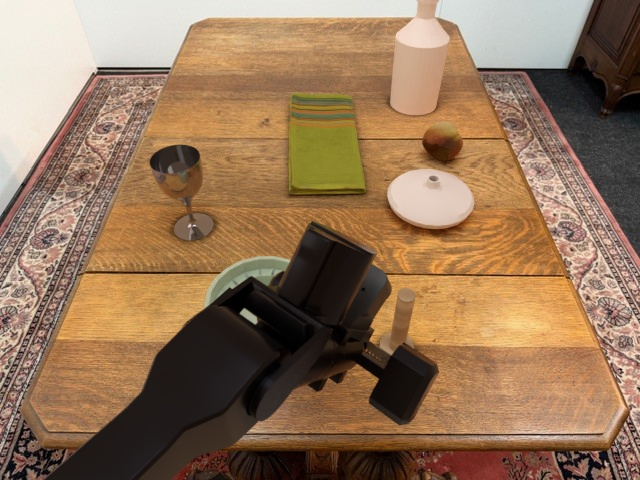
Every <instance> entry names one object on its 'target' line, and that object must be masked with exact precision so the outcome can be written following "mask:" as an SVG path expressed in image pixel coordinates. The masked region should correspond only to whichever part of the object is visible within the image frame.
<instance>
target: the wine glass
mask: <svg viewBox="0 0 640 480" xmlns="http://www.w3.org/2000/svg"><path fill="white" fill-rule="evenodd" d="M149 167H150V170H151V173H152V176H153V178H154V181H155V182H156V184H157V186H158V187H159V189H160V190H161V191H162V193H163V194H164V195H165V196H167V197H168V198H170V199H172V200H175V201H178V202H180V203H181V204H182V205H183V206H184V208H185V211H186V212H187V215H184V216H183V217H181V218H179V219H178V220H177V221H176V223H175V225H174V227H173V232H174V235H175V236H176V237H177V238H179V239H180V240H183V241H198V240H200V239H203V238H205V237H207V236H208V235H210V233H211V232H212V231H213V229H214V226H215V224H214V220H213V219H212V217H211V216H210V215H207V214H206V213H201V212H199V213H198V212H197V213H194V212H193V205H192V202H193V199H194V198H195V197H196V196H197V194H198V193H199V192H200V190H201V189H202V186H203V181H204V167H203V161H202V157H201V153H200V151H199V150H198V149H197V148H196V147H195V146H193V145H189V144H171V145H168V146H164V147H162V148H160V149H159V150H157V151H155V152H154V153H153V154H152V155H151V157H150V158H149Z"/></svg>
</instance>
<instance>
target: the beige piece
mask: <svg viewBox="0 0 640 480" xmlns="http://www.w3.org/2000/svg"><path fill="white" fill-rule="evenodd" d="M416 297H417V294H416V292H415V291H414V290H413V289H412V288H410V287H402V288H400V289H399V290H398V291H397V295H396V302H395V306H394V307H395V308H394V313H393V320H392V325H391V330H390V331H389V332H387V333H385V334H383V335H382V337H381V338H380V341H379V345H378V346H379V347H380V348H382V349H383V350H385V351H386V352H388V353H390V354H391V355H392V354H393V353H394V351H395V350H396V349H397V347H398V346H399V345H402V344H403V342H404V343H406V344H407V345H409V346H411V347H412V348H414V349H415V343H414V341H413V339H412V338H411V337H410V335H409V329H410V326H411V320H412V317H413V312H414V307H415V302H416ZM383 362H385V360H384V361H383Z"/></svg>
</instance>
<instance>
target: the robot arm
mask: <svg viewBox="0 0 640 480" xmlns="http://www.w3.org/2000/svg"><path fill="white" fill-rule="evenodd" d="M377 254H378V253H377V252H376V250H373V249H372V248H371V247H369V246H368V245H366V244H364V243H363V242H360V241H358V240H357V239H354V238H353V237H351V236H349V235H347V234H346V233H345V234H344V233H343V232H341V231H339V230H337V229H334V228H332V227H330V226H328V225H325V224H323V223H320V222H318V221H314V220H311V221H310V222H308V223H307V225H306V227H305V229H304V232H303V234H302V236H301V238H300V240H299V242H298V243H297V245H296V247H295V250H294V253H293V254H292V256H291V258H290V262H289V264H288V267H287V269H286V271H281V272H279V273H277V274H276V275H275V276H274V277H273V278H272V279H271V281H270V284H269V286H267V285H265V284H264V283H262V282H261V281H259V280H258V279H256V278H255V277H253V276H250V277H249V278H247V279H246V280H244V281H243V282H241V283H240V284H239V285H237V286H236V287H234V288H233V289H232V288H230V287H229V288H228V289H227V290H226V291H225V292H223V293H222V294H221V295H220V296H219V297H218V298H217V299H216V300H214V301H213V302H212V303H211V304H210V305H209V306H207V307H206V308H204V307H203V309H201V310H200V311H199V312H197V313H196V314H194V315H193V316H191V317H190V318H189V319H188V320H187V321H186V322H185V323H184V325H183V326H182V327H181V328H180V330H178V331H177V332H176V334H175V335H173V336H172V337H171V338H170V339H169V341H167V342H166V344H164V346H162V347H161V348H160V349H159V350H158V351H157V353H155V354H154V355H155V356H154V357H153V360H152V362H151V365H150V368H149V370H148V373H147V375H146V378H145V381H144V383H143V386H142V388H141V391H140V392H139V393H138V394H137V395H136V396H134V398H133V399H132V400H131V401H130V402H129V403H128V404H127V405H126V406H125V407H124V408H123V409H122V410H121V411H119V412H118V413H117V414H116V415H115V416H113V418H112V419H111V420H109V421H108V422H107V423H106V424H104V426H102V427H101V428H100V429H99V430H97V431H96V432H95V433H94V434H93V435H92V436H91V437H90V438H89V439H87V440H86V441H85V442H84V443H83V444H81V446H79V447H78V448H77V449H76V450H75V451H74V452H73V453H71V454H70V455H69V456H68V457H67V458H66V459H64V460H63V461H62V462H61V463H60V464H59V465H58V466H56V467H55V468H54V469H53V470H52V471H51V472H50V473H48V474H47V475H46V476H45V477H44V478H42V480H174V478H175V477H177V475H178V474H179V473H180V472H181V471H182V470H183V469H185V468H186V466H188V465H189V464H190V463H191V462H192V461H193V460H195V458H197V457H200V456H204V455H207V454H210V453H213V452H218V451H220V450H224V449H226V448H230V447H232V446H234V445H236V444H237V443H238V442H239V441H240V440H241V439H242V438H243V437H244V436H245V435H246V434H248V432H249V431H251V430H252V429H253V427H255V426H256V425H257V424H258V423H259V422H260V423H261V422H264V421H266V420H268V419H269V418H271V417H272V416H273V415H274V414H275V413H276V412H277V411H278V410H279V408H281V406H282V405H283V404H284V402H286V400H287V399H288V398H289V396H290V395H291V394H292V392H293V391H294V390H296V389H299V388H302V387H305V386H308V387H309V388H310V389H312V390H313V391H315V392H316V393H319V392H321V391H323V390H324V387H325V386H326V385H327V382H328V380H331V381H332V382H334V383H335V384H336V385H339V384H341V383H343V381H344V379H345V377H346V375H347V373H348V372H349V371H350V370H352V369H353V368H355V367H356V366H358V365H359V366H360V367H361V368H362V369H364V370H365V371H366V372H368V373H370V374H371V375H372V376H374V377H375V378H377V379H378V380H377V382H376V383H375V385H374V387H373V389H372V391H371V393H370V395H369V397H368V404H369V405H370V406H371V407H373V408H374V409H376V410H377V411H379V412H380V413H381V414H382V415H384V416H385V417H387V418H388V419H390V420H391V421H393V422H394V423H395V424H397V425H398V426H399V427H401V426H404V425H408V424H411V422H412V421H414V420H415V419H416V416H417V414H418V412H419V411H420V408H421V407H422V405H423V403H424V401H425V399H426V398H427V396H428V394H429V392H430V390H431V389H432V387H433V384H434V383H435V382H436V379H437V378H438V375H440V369H439V366H438V363H437V362H435V361H434V360H432V358H429V357H428V356H426V355H425V354H424V353H422V352H420V351H419V350H417V349H415V347H414V348H412V347H411V346H409V345H407V344H406V343H404V342H403V344H402V345H399V346H398V347H397V349H396V350H395V351H394V353H393V354H392V355H391V354H390V353H388V352H386V351H385V350H383V349H382V348H380V347H379V346H380V345H377V344H376V343H374V342H373V341H371V338H372V336H373V334H374V333H375V328H373V327H371V326H372V324H373V322H374V320H375V318H376V316H377V315H378V313H379V311H380V310H381V308H382V307H383V305H384V304H385V302H386V301H387V299H389V297H390V296H391V295H392V291H393V286H392V285H391V282H390V280H389V278H388V276H387V274H386V272H385V271H384V270H383V269H382V268H379V267H378V266H376V265H375V264H373V262H374V260H375V258H376V257H377ZM244 308H245V309H246V310H247V311H249V312H250V313H252V314H253V315H254V316H256V317H257V322H258V323H256V324H254V323H252V322H251V321H250V320H248V319H247V318H245V317H244V316H243V315H241V314H240V312H241V311H242V310H243V309H244ZM384 360H385V361H384ZM207 480H236V478H235V477H234V476H232V475H231V474H229V473H228V472H225V473H222V472H221V471H219V472H218V473H216V474H215V475H214V476H212V477H210V478H208V479H207Z"/></svg>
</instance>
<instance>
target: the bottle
mask: <svg viewBox="0 0 640 480" xmlns="http://www.w3.org/2000/svg"><path fill="white" fill-rule="evenodd" d="M416 1H417V8H416V14H415V16H414V17H413V18H412V19H411V20H410V21H409V22H408V23H406V25H404V26H403V27H401V29H400V30H398V31H397V32H396V34H395V41H394V51H393V63H392V74H391V75H392V76H391V85H390V86H391V87H390V97H389V105H390V106H391V108H392V109H393V110H395V111H396V112H397V113H400V114H404V115H408V116H423V115H424V116H425V115H427V114H428V115H429V114H430V113H432V112H434V111H435V110H436V108H437V105H438V101H439V96H440V89H441V85H442V81H443V75H444V71H445V65H446V61H447V55H448V50H449V46H450V42H451V41H450V39H451V38H450V37H451V36H450V35H449V34H448V33H447V31H446V30H445V29H444V28H443V27H442V25H441V23H440V22H439V21H438V19H437V17H436V16H435V15H436V10H437V6H438V3H439V2H440V0H416Z"/></svg>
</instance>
